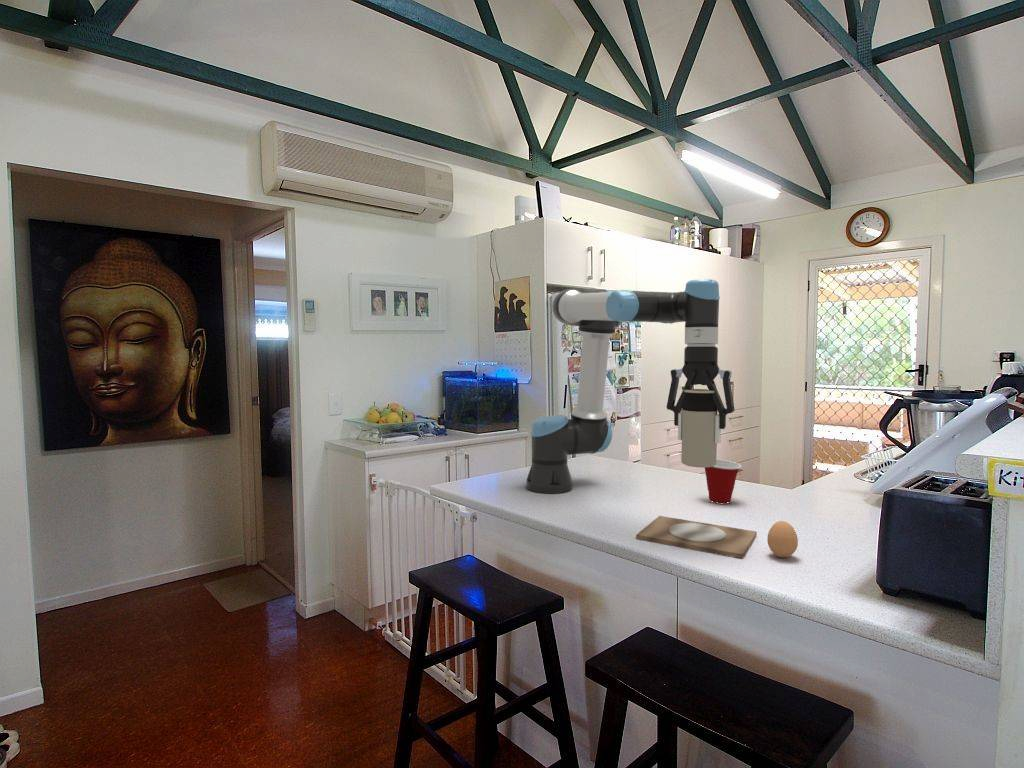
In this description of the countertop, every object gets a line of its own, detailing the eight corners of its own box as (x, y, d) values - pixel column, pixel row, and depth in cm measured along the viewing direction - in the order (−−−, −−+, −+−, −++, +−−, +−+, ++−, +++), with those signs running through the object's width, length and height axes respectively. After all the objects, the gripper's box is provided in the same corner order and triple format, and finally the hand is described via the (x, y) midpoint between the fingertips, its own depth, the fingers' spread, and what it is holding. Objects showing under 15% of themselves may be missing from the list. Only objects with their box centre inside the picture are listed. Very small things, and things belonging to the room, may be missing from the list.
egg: (783, 563, 119) (784, 527, 118) (760, 554, 124) (761, 519, 124) (803, 559, 121) (804, 523, 121) (780, 550, 127) (781, 515, 126)
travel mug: (680, 466, 132) (681, 390, 131) (682, 460, 140) (683, 388, 138) (716, 469, 129) (718, 391, 128) (716, 462, 137) (717, 389, 136)
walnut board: (636, 538, 134) (636, 532, 134) (659, 519, 149) (659, 514, 149) (742, 558, 121) (743, 552, 121) (756, 535, 136) (756, 529, 136)
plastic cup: (734, 509, 159) (735, 467, 158) (696, 502, 166) (697, 462, 165) (744, 500, 168) (745, 461, 167) (708, 495, 174) (709, 457, 174)
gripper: (653, 345, 135) (651, 439, 136) (745, 345, 124) (742, 447, 125) (662, 346, 141) (661, 435, 143) (750, 345, 130) (748, 442, 132)
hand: (699, 440), depth 134 cm, fingers closed on travel mug, 8 cm apart
